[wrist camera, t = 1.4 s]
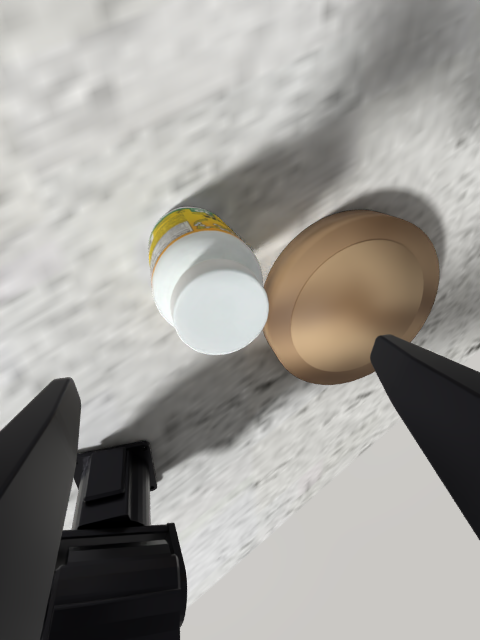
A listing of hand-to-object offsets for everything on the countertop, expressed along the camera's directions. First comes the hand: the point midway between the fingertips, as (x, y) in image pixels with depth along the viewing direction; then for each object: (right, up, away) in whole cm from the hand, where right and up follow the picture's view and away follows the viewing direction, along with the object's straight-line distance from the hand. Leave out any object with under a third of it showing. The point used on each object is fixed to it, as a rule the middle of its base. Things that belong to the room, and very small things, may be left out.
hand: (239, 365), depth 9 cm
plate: (+8, +3, +17) cm, 19 cm away
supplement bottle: (-3, +6, +12) cm, 14 cm away
